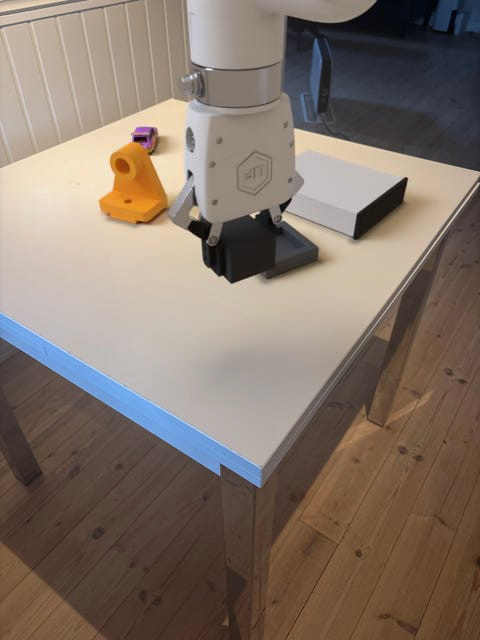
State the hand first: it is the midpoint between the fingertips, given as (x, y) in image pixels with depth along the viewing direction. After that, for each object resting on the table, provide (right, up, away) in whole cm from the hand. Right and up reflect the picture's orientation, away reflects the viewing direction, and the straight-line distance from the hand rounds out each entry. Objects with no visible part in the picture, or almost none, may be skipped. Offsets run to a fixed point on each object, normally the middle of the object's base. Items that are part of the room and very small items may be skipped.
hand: (240, 259), depth 53 cm
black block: (0, 0, 0) cm, 0 cm away
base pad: (+6, +4, +28) cm, 29 cm away
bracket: (-20, +14, +40) cm, 47 cm away
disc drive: (+17, +16, +42) cm, 48 cm away
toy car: (-23, +35, +64) cm, 76 cm away
